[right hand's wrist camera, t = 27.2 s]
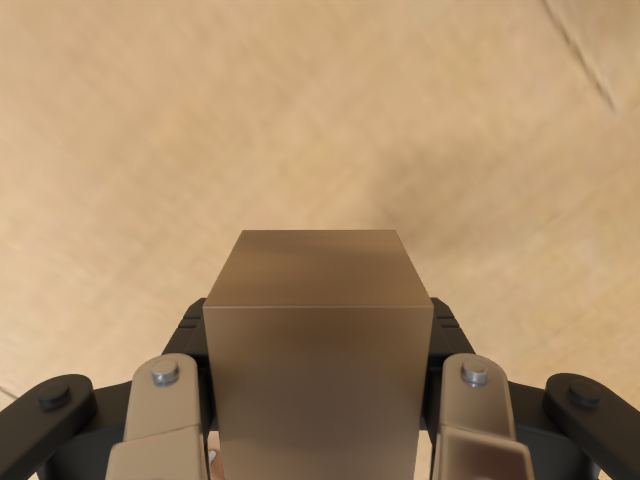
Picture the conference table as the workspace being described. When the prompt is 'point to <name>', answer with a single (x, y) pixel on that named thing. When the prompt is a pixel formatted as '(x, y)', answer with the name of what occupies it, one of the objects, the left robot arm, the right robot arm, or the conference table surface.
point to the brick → (318, 356)
